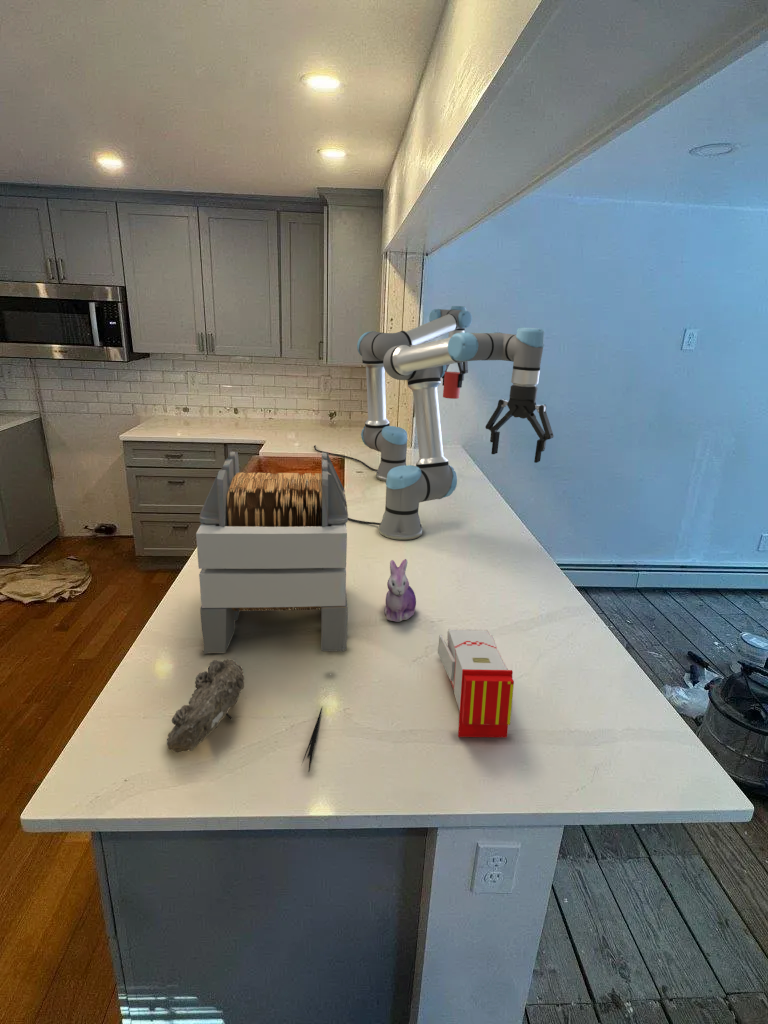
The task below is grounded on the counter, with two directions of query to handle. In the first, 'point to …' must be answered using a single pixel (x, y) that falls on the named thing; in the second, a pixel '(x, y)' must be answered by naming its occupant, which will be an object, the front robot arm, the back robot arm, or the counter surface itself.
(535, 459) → the front robot arm
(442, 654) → the toy
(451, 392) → the can
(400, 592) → the figurine
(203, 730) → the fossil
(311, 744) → the feather
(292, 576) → the record crate
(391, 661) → the counter surface
